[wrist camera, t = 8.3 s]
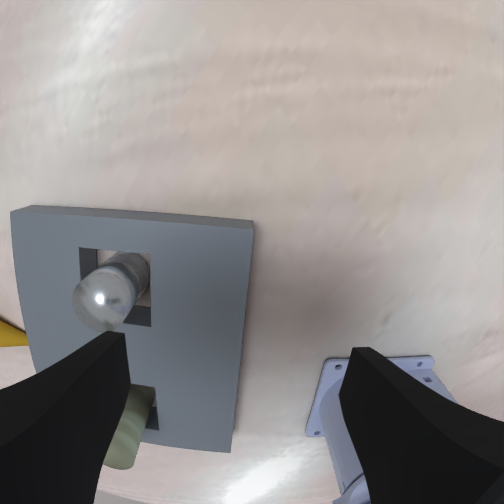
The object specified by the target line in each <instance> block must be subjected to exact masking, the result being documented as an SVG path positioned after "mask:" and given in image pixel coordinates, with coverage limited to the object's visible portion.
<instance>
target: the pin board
mask: <svg viewBox="0 0 504 504" xmlns="http://www.w3.org/2000/svg"><path fill="white" fill-rule="evenodd" d="M10 219H11V235H12V247H13V257H14V266H15V274H16V281H17V288H18V294H19V300H20V306H21V311H22V316H23V321H24V326H25V331H26V335H27V339H28V343H29V347H30V351H31V355H32V359H33V363H34V366H35V370H36V373H39V372H41V371H43V370H44V369H46V368H48V367H50V366H51V365H53V364H55V363H56V362H58V361H60V360H62V359H63V358H65V357H66V356H68V355H70V354H71V353H73V352H74V351H76V350H77V349H79V348H80V347H82V346H83V345H85V344H86V343H88V342H89V341H91V340H93V339H94V338H96V337H97V336H99V335H100V334H102V333H100V332H96V331H93V330H91V329H90V328H88V327H87V326H85V325H84V324H83V323H82V322H81V321H80V320H79V318H78V317H77V315H76V313H75V311H74V308H73V304H72V295H73V291H74V289H75V287H76V286H77V285H78V284H79V283H80V282H81V281H82V280H83V279H84V278H86V277H87V276H88V275H89V274H90V273H92V272H93V271H94V270H95V269H96V268H97V252H96V249H101V250H111V251H121V252H131V253H141V254H151V257H150V289H151V307H143V306H135V305H134V306H133V308H132V309H131V311H130V312H129V314H128V315H127V317H126V318H125V320H124V321H123V322H122V324H121V325H120V327H119V328H118V329H116V330H115V331H114V332H121V333H125V339H126V348H127V356H128V364H129V372H130V379H131V383H132V384H138V385H144V386H150V387H155V392H156V403H157V408H156V407H151V409H150V413H149V416H148V419H147V422H146V425H145V428H144V432H143V435H142V438H141V441H140V442H145V443H151V444H157V445H163V446H170V447H177V448H184V449H193V450H202V451H212V452H225V453H231V443H232V434H233V424H234V415H235V405H236V396H237V386H238V377H239V368H240V358H241V349H242V339H243V330H244V320H245V311H246V302H247V292H248V283H249V273H250V264H251V255H252V245H253V236H254V226H253V221H251V220H240V219H229V218H218V217H207V216H195V215H182V214H170V213H156V212H142V211H128V210H113V209H96V208H79V207H59V206H38V205H31V206H27V207H24V208H21V209H17V210H14V211H11V212H10Z"/></svg>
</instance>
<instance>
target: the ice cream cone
mask: <svg viewBox="0 0 504 504" xmlns="http://www.w3.org/2000/svg"><path fill="white" fill-rule="evenodd" d="M27 345H29V343H28V339H27V335H26V333H24V332H22V331H20V330H18V329H16V328H14V327H12V326H10V325H8V324H6V323H4V322H2V321H0V347H10V346H27Z"/></svg>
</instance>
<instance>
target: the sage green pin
mask: <svg viewBox="0 0 504 504" xmlns="http://www.w3.org/2000/svg"><path fill="white" fill-rule="evenodd" d="M154 397H155V389H154V387H150V386H144V385H138V384H132V383H131V385H130V389H129V393H128V397H127V401H126V405H125V409H124V411H123V414H122V416H121V419H120V421H119V424H118V426H117V429H116V431H115V434H114V436H113V439H112V441H111V444H110V446H109V449H108V451H107V454H106V456H105V459H104V462H103V464H104V465H106V466H108V467H111V468H114V469H120V470H125V469H129V468H131V467H132V466H133V465H134V461H135V458H136V455H137V451H138V448H139V445H140V441H141V438H142V435H143V432H144V428H145V425H146V422H147V419H148V416H149V413H150V409H151V406H152V403H153V400H154Z"/></svg>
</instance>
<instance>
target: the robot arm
mask: <svg viewBox="0 0 504 504" xmlns="http://www.w3.org/2000/svg"><path fill="white" fill-rule="evenodd" d="M419 362H420V363H419ZM418 363H419V364H418ZM338 364H340V366H338V367H335V366H336V365H338ZM433 364H434V359H433V357H432V356H423V357H405V358H386V357H384V356H383V355H381V354H380V353H378V352H377V351H375V350H374V349H372V348H370V347H353V348H352V352H351V355H350V359H329V360H327V361H326V362H325V363H324V366H323V370H322V374H321V377H320V381H319V385H318V388H317V392H316V395H315V399H314V402H313V406H312V409H311V413H310V416H309V419H308V422H307V426H306V429H305V435H306V436H308V437H320V436H325V438H326V441H327V445H328V449H329V452H330V456H331V459H332V463H333V467H334V470H335V474H336V478H337V481H338V485H339V489H340V493H341V497H339V498H338V499H336V500H334V501H333V504H504V422H502V421H499V420H496V419H493V418H490V417H487V416H484V415H482V414H479V413H476V412H474V411H472V410H469V409H467V408H465V407H463V406H461V405H459V404H458V402H457V401H456V400H455V398H454V397H453V396H452V395H451V393H450V392H449V391H448V389H447V388H446V387H445V386H444V384H443V383H442V382H441V380H440V379H439V378H438V377H437V375H436V374H435V373H434V372H433V370H432V367H433ZM130 385H131V379H130V372H129V364H128V356H127V348H126V339H125V333H121V332H114V331H106V332H104V333H102V334H100V335H99V336H97V337H96V338H94V339H93V340H91V341H89V342H88V343H86V344H85V345H83V346H82V347H80V348H79V349H77V350H76V351H74V352H73V353H71V354H70V355H68V356H66V357H65V358H63V359H62V360H60V361H58V362H56V363H55V364H53V365H51V366H50V367H48V368H46V369H44V370H43V371H41V372H39V373H37V374H35V375H33V376H31V377H29V378H27V379H25V380H23V381H21V382H18V383H16V384H14V385H11V386H9V387H6V388H3V389H0V504H93V503H94V498H95V493H96V488H97V484H98V479H99V475H100V471H101V468H102V465H103V462H104V459H105V456H106V454H107V451H108V449H109V446H110V444H111V441H112V439H113V436H114V434H115V431H116V429H117V426H118V424H119V421H120V419H121V416H122V414H123V411H124V409H125V405H126V401H127V397H128V393H129V389H130ZM316 431H318V432H316Z"/></svg>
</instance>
